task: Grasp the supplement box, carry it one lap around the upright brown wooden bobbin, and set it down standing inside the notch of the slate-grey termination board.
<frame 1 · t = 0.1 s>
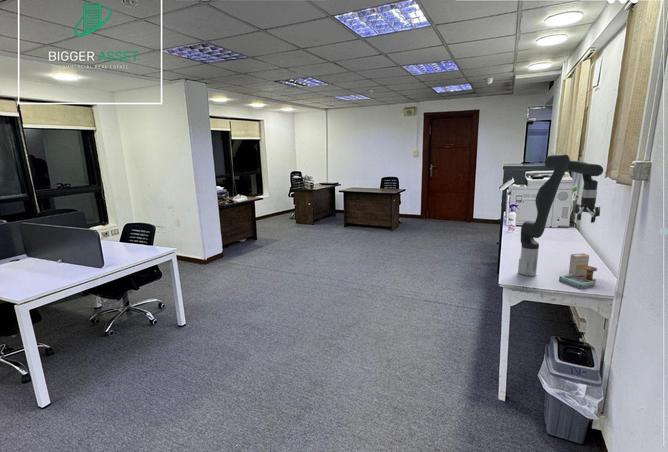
hand: (585, 221, 214), 29 cm above the table, fingers open, 8 cm apart
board: (576, 283, 191), on the table
supplement box: (577, 275, 203), on the table
bobbin: (588, 280, 193), on the table
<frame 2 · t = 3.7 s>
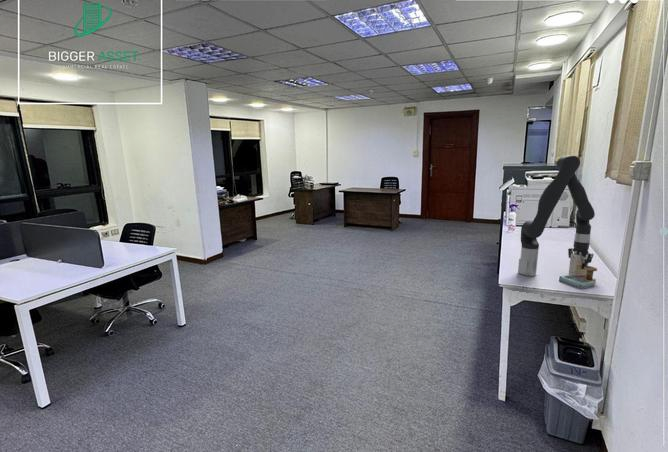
hand: (578, 267, 202), 5 cm above the table, fingers closed on supplement box, 5 cm apart
supplement box: (577, 275, 203), on the table, touching gripper
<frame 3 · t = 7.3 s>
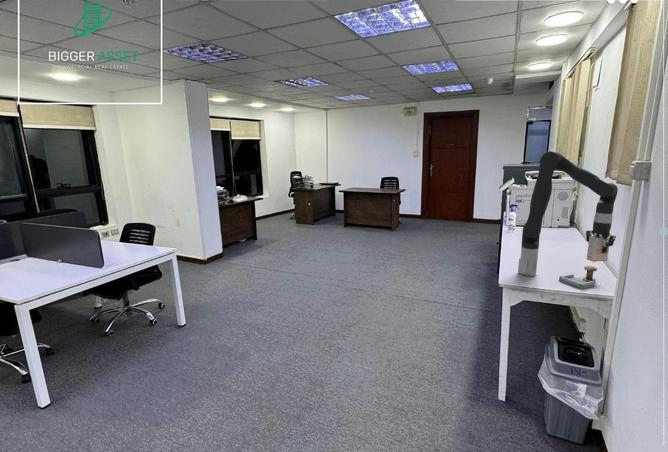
hand: (597, 251, 179), 21 cm above the table, fingers closed on supplement box, 5 cm apart
supplement box: (596, 260, 181), point 16 cm above the table, touching gripper
when the fingers open (8 cm above the table, at t = 11.0 s): supplement box drops 1 cm, resting on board.
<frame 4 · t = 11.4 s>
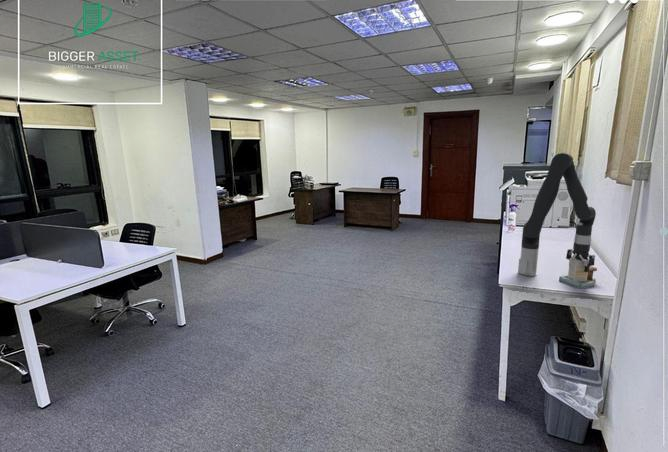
hand: (578, 269, 189), 8 cm above the table, fingers open, 8 cm apart
supplement box: (576, 281, 191), point 1 cm above the table, touching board
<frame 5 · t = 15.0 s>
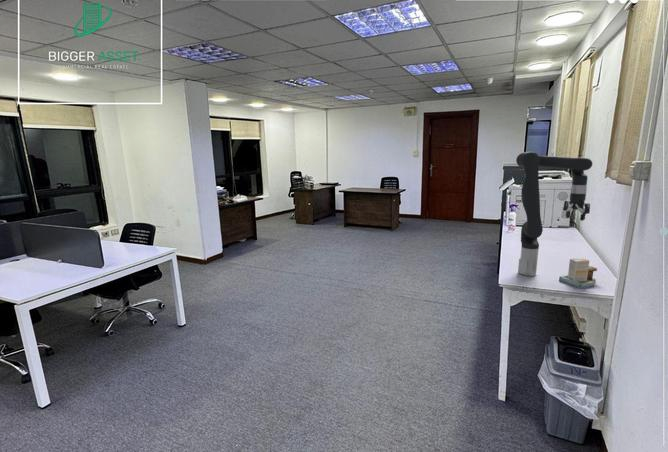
hand: (574, 219, 200), 34 cm above the table, fingers open, 8 cm apart
nothing on the table moved.
at the end: supplement box inside the target area on the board (0.2 cm from its centre), point 1.0 cm above the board's base; supplement box tilted 0°; the gripper is holding nothing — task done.
